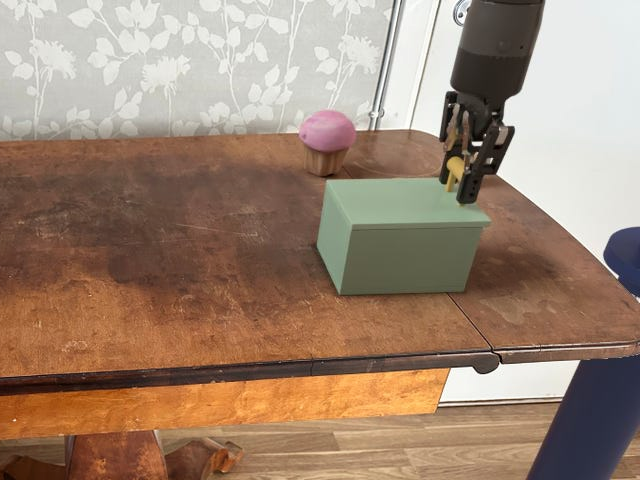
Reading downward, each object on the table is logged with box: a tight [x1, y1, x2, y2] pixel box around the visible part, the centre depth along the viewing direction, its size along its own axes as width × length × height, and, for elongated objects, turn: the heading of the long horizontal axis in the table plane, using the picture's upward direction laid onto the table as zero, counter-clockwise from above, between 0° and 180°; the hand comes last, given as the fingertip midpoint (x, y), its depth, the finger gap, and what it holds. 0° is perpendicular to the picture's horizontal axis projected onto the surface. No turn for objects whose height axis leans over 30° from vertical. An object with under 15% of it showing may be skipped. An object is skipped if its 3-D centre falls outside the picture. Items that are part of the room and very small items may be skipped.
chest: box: [316, 185, 484, 296], centre depth 89 cm, size 16×13×9 cm
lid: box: [325, 157, 492, 230], centre depth 85 cm, size 16×13×5 cm
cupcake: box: [298, 109, 357, 177], centre depth 114 cm, size 9×9×10 cm
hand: (456, 192), depth 86 cm, fingers closed on lid, 5 cm apart
